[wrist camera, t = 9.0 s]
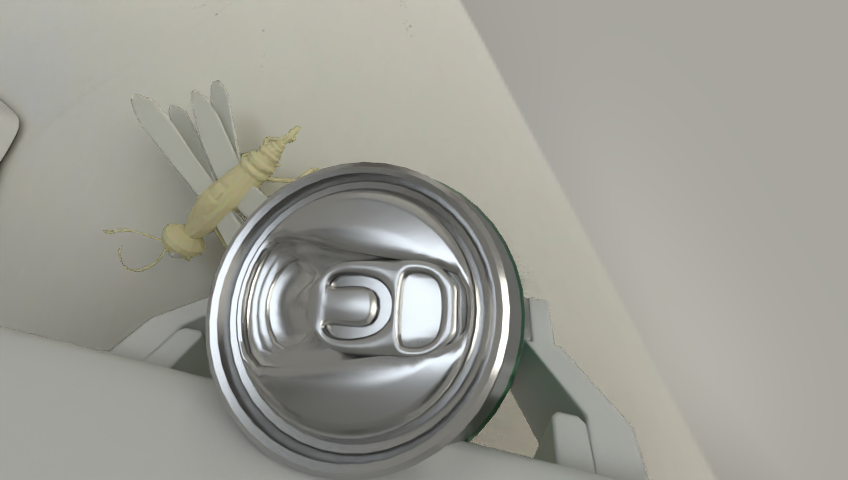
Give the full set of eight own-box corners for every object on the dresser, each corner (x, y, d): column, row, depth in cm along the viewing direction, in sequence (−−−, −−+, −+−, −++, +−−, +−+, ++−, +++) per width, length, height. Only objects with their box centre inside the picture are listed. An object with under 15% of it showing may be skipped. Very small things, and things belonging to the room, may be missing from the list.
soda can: (380, 266, 17) (213, 141, 6) (482, 269, 17) (533, 134, 5) (372, 374, 16) (139, 499, 4) (483, 381, 15) (550, 540, 4)
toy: (413, 268, 17) (394, 245, 12) (266, 386, 16) (185, 410, 12) (265, 82, 21) (206, 9, 16) (142, 172, 20) (42, 124, 15)
